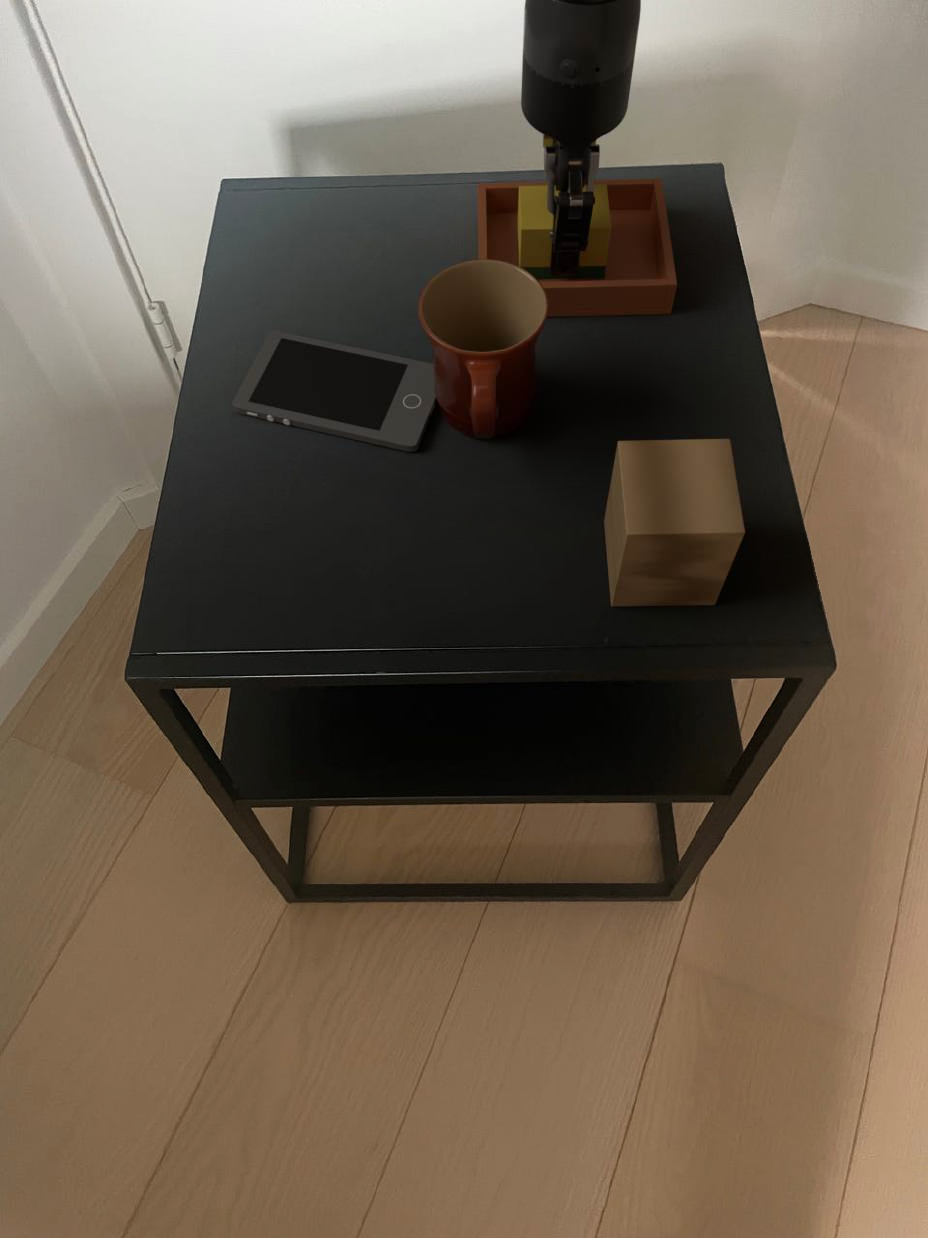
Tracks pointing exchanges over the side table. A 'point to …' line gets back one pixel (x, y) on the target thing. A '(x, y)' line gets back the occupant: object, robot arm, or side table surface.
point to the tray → (634, 254)
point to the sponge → (539, 243)
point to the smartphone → (339, 391)
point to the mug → (484, 343)
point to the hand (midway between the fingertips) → (561, 248)
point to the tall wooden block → (671, 522)
